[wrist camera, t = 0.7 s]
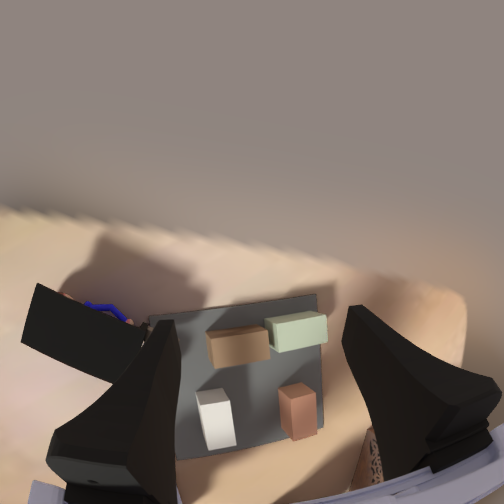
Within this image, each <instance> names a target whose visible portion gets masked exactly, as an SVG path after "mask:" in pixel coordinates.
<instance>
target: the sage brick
mask: <svg viewBox="0 0 504 504" xmlns="http://www.w3.org/2000/svg"><path fill="white" fill-rule="evenodd" d="M264 323H265V329H266V330H268V338H269V347H271V348H272V349H274V350H275V351H277V352H278V353H281V352H285V351H290V350H295V349H299V348H304V347H308V346H313V345H317V344H321V343H326V342H328V334H327V319H326V315H325V314H321V313H317V312H313V311H306V312H300V313H294V314H289V315H283V316H277V317H271V318H265V319H264Z"/></svg>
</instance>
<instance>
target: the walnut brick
mask: <svg viewBox="0 0 504 504" xmlns="http://www.w3.org/2000/svg"><path fill="white" fill-rule="evenodd" d="M205 335H206V343H207V350H208V358H209V360H210V362H211V363H212V365H213V367H214V368H215V369H217V368H223V367H229V366H235V365H241V364H247V363H252V362H257V361H263V360H268V359H270V348H269V338H268V330H266V329H265V328H263V327H261V326H259V325H257V324H254V325H247V326H241V327H234V328H227V329H220V330H213V331H205Z"/></svg>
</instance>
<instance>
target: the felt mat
mask: <svg viewBox="0 0 504 504" xmlns="http://www.w3.org/2000/svg"><path fill="white" fill-rule="evenodd" d="M306 311H313V312H317V299H316V294H313V295H306V296H300V297H294V298H287V299H281V300H274V301H267V302H260V303H253V304H246V305H239V306H231V307H224V308H216V309H208V310H200V311H191V312H183V313H174V314H164V315H155V316H149V321H150V327H153V328H154V327H155V325H156V323H157V322H158V321H159V320H167V319H174V322H175V327H176V331H177V336H178V338H179V339H180V341H179V346H180V350H181V355H182V356H181V381H180V389H179V397H178V404H177V412H176V420H175V453H176V457H177V460H184V459H192V458H198V457H205V456H211V455H216V454H222V453H227V452H232V451H237V450H242V449H246V448H251V447H255V446H260V445H264V444H268V443H272V442H276V441H279V440H283V439H287V438H290V437H289V436H288V435H287V434H286V433H285V431H284V430H283V429H282V428H281V419H280V407H279V396H278V388H280V387H284V386H288V385H292V384H296V383H300V382H302V383H303V384H305V385H306V386H307V387H309V388H310V389H312V390H313V391H314V392H316V408H317V429H320V428H323V401H322V376H321V357H320V344H317V345H313V346H308V347H304V348H299V349H295V350H290V351H285V352H281V353H278V352H277V351H275V350H274V349H272V348H271V347H269V348H270V359H268V360H263V361H257V362H252V363H247V364H241V365H235V366H229V367H223V368H217V369H215V368H214V367H213V365H212V363H211V362H210V360H209V358H208V350H207V343H206V335H205V331H213V330H220V329H227V328H234V327H241V326H247V325H254V324H257V325H259V326H261V327H263V328H265V323H264V319H265V318H271V317H277V316H283V315H289V314H294V313H300V312H306ZM317 313H318V312H317ZM218 388H223V390H224V392H225V393H226V395H227V397H228V398H229V400H230V405H231V412H232V419H233V425H234V432H235V438H236V446H231V447H225V448H220V449H214V450H208V447H207V444H206V441H205V438H204V435H203V431H202V426H201V421H200V415H199V410H198V404H197V399H196V393H195V392H198V391H205V390H212V389H218Z"/></svg>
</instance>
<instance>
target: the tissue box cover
mask: <svg viewBox="0 0 504 504" xmlns="http://www.w3.org/2000/svg"><path fill="white" fill-rule="evenodd" d="M382 482H384V480H383V473H382V466H381V460H380V455H379V450H378V445H377V441H376V437H375V433H374V429H373V428H372V429H367V433H366V436H365V440H364V444H363V447H362V451H361V454H360V458H359V461H358V464H357V468H356V471H355V474H354V477H353V480H352V483H351V486H350V489H349V492H351V491H355V490H358V489H362V488H366V487H369V486H373V485H376V484H379V483H382Z"/></svg>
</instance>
